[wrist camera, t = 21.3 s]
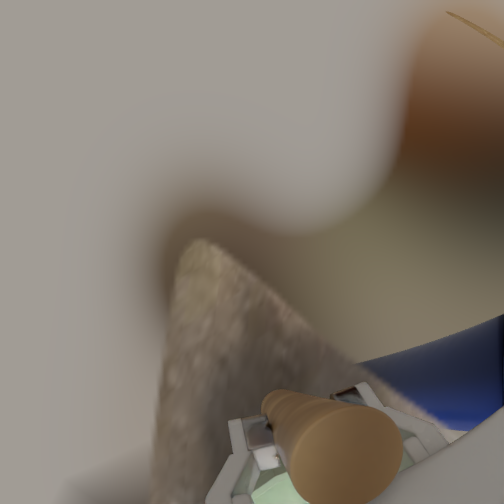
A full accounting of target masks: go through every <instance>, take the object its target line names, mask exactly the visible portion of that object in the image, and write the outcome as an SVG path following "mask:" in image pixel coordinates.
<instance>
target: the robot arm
mask: <svg viewBox="0 0 504 504" xmlns="http://www.w3.org/2000/svg"><path fill="white" fill-rule="evenodd" d="M330 399H331V400H336V401H342V402H347V403H353V404H358V405H364V406H369V407H373V408H376V409H378V410H381V411H382V412H384V413H386V414H387V415H388V416H389V417H390V418H391V419H392V420H393V421H394V422H395V424H396V425H397V427H398V429H399V431H400V433H401V437H402V441H403V457H402V461H401V465H400V468H399V470H398V473H397V474H396V476H395V478H394V479H393V481H392V482H391V484H390V485H389V486H388V487H387V488H386V489H385V490H384V491H383V492H382V493H381V494H380V495H379V496H377V497H376V498H375V499H373V500H372V501H370V502H368V503H366V504H504V406H503V407H501V408H500V409H499V410H498V411H496V412H495V413H494V414H492V415H491V416H490V417H488V418H487V419H486V420H484V421H483V422H482V423H480V424H479V425H478V426H476V427H475V428H473V429H472V430H470V431H469V432H468V433H466V434H465V435H463V436H461V437H460V438H458V439H457V440H455V441H454V442H452V443H451V444H449V443H448V442H447V440H446V439H445V438H444V436H443V435H442V434H441V432H440V431H439V430H438V429H437V427H436V426H435V425H434V424H433V423H430V422H427V421H424V420H422V419H419V418H416V417H414V416H411V415H408V414H406V413H403V412H401V411H398V410H395V409H393V408H390V407H388V406H387V407H385V408H384V406H383V405H382V403H381V402H380V400H379V399H378V397H377V396H376V395H375V393H374V392H373V390H372V389H371V387H370V386H369V385H368V383H367V382H362V383H360V384H357V385H354V386H351V387H348V388H346V389H343V390H340V391H337V392H334V393H332V394H330ZM228 427H229V433H230V439H231V444H232V450H233V454H231V455H229V457H228V459H227V461H226V462H225V464H224V466H223V468H222V470H221V471H220V473H219V475H218V477H217V479H216V480H215V482H214V484H213V486H212V487H211V489H210V491H209V492H208V494H207V496H206V498H205V504H255V503H254V501H253V499H252V497H251V495H252V492H253V490H254V487H255V485H256V482H257V480H258V477H259V475H260V472H261V471H265V470H269V469H273V468H277V467H280V466H281V465H280V460H279V456H278V451H277V449H276V446H275V443H274V439H273V433H272V430H271V428H270V424H269V420H268V416H267V413H264V414H259V415H254V416H250V417H244V418H239V419H235V420H229V421H228Z"/></svg>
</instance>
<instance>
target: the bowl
mask: <svg viewBox="0 0 504 504" xmlns="http://www.w3.org/2000/svg"><path fill="white" fill-rule="evenodd" d="M278 456H279V460H280V465H281V466H280V467H277V468H273V469H269V470H265V471H261V472H260V475H259V477H258V480H257V482H256V485H255V487H254V490H253V492H252V495H251V497H252V499H253V501H254V503H255V504H310V503H308V502H307V501H305V500H304V499H303V498H302V497H301V496H300V495H299V494H298V492H297V491H296V489H295V488H294V486H293V484H292V482H291V479H290V477H289V475H288V473H287V471H286V469H285V466H284V464H283V462H282V460H281V458H280V455H278Z"/></svg>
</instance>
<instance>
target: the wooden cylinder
mask: <svg viewBox="0 0 504 504" xmlns="http://www.w3.org/2000/svg"><path fill="white" fill-rule="evenodd" d="M264 413H267V416H268V420H269V424H270V428H271V430H272V433H273V439H274V443H275V446H276V449H277V451H278V453H279V455H280V458H281V460H282V462H283V464H284V466H285V469H286V471H287V473H288V475H289V477H290V479H291V482H292V484H293V486H294V488H295V489H296V491H297V492H298V494H299V495H300V496H301V497H302V498H303V499H304V500H305V501H307V502H308V503H310V504H366V503H368V502H370V501H372V500H373V499H375V498H376V497H377V496H379V495H380V494H381V493H382V492H383V491H384V490H385V489H386V488H387V487H388V486H389V485H390V484H391V482H392V481H393V479H394V478H395V476H396V474H397V473H398V470H399V468H400V465H401V461H402V457H403V441H402V437H401V433H400V431H399V429H398V427H397V425H396V424H395V422H394V421H393V420H392V419H391V418H390V417H389V416H388V415H387V414H386V413H384V412H382V411H381V410H378V409H376V408H373V407H369V406H364V405H358V404H353V403H347V402H342V401H336V400H331V399H326V398H321V397H316V396H312V395H307V394H303V393H298V392H294V391H290V390H285V389H278V390H274V391H272V392H270V393H269V394H268V395H267V396H266V397H265V398H264V399H263V401H262V404H261V414H264Z"/></svg>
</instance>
